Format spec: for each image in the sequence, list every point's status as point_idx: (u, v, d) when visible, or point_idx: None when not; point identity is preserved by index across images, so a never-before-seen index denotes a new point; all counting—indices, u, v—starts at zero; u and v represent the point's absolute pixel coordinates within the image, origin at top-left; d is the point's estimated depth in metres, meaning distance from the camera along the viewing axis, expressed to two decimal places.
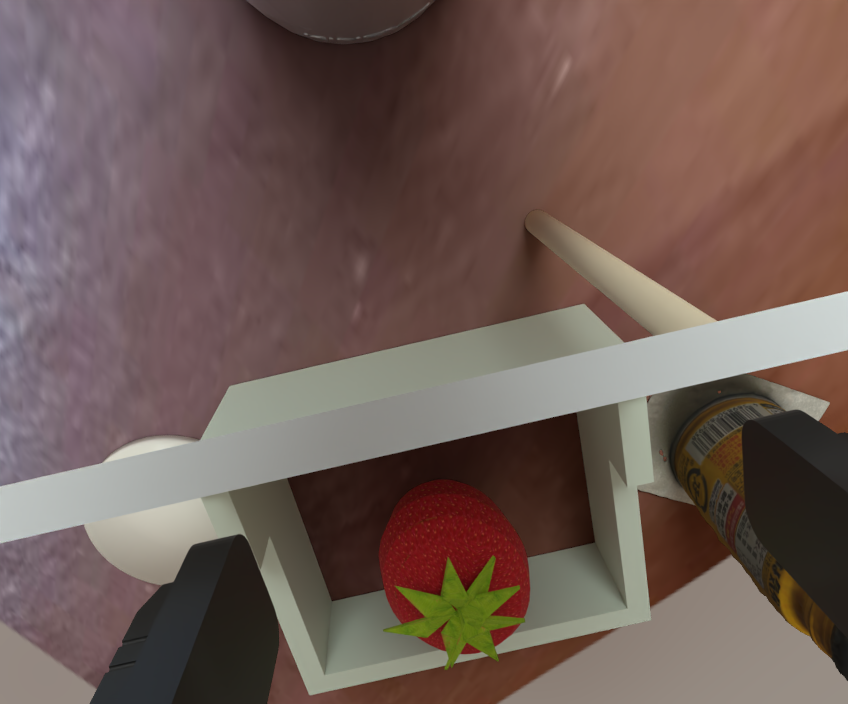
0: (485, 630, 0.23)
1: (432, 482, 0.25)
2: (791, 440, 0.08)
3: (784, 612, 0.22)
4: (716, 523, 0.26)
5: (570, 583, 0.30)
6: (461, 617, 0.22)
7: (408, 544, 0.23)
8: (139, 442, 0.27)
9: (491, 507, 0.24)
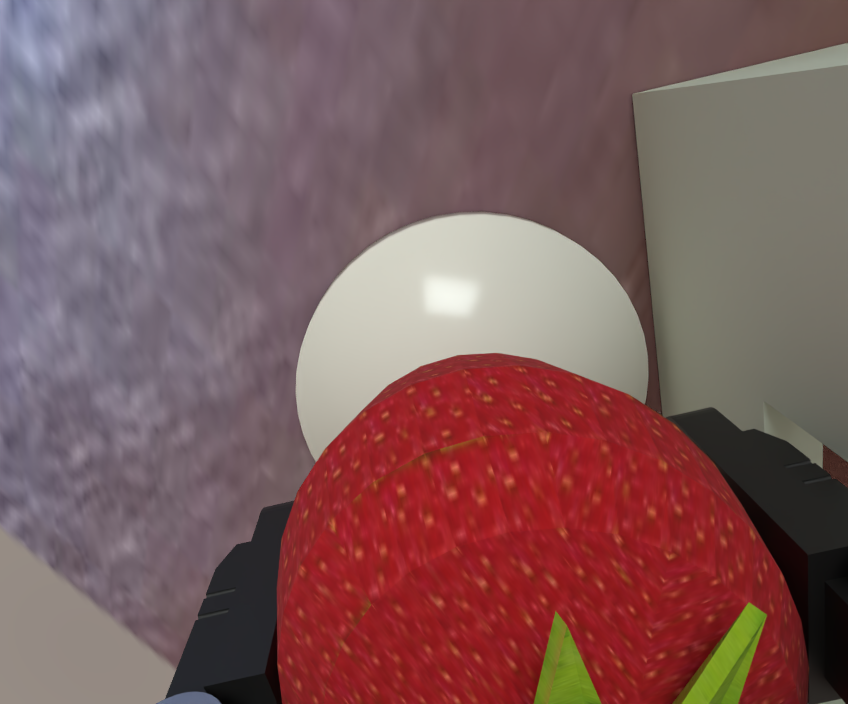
0: None
1: (458, 356, 0.08)
2: (698, 435, 0.09)
3: None
4: None
5: None
6: None
7: (367, 553, 0.05)
8: (430, 220, 0.13)
9: (671, 423, 0.07)
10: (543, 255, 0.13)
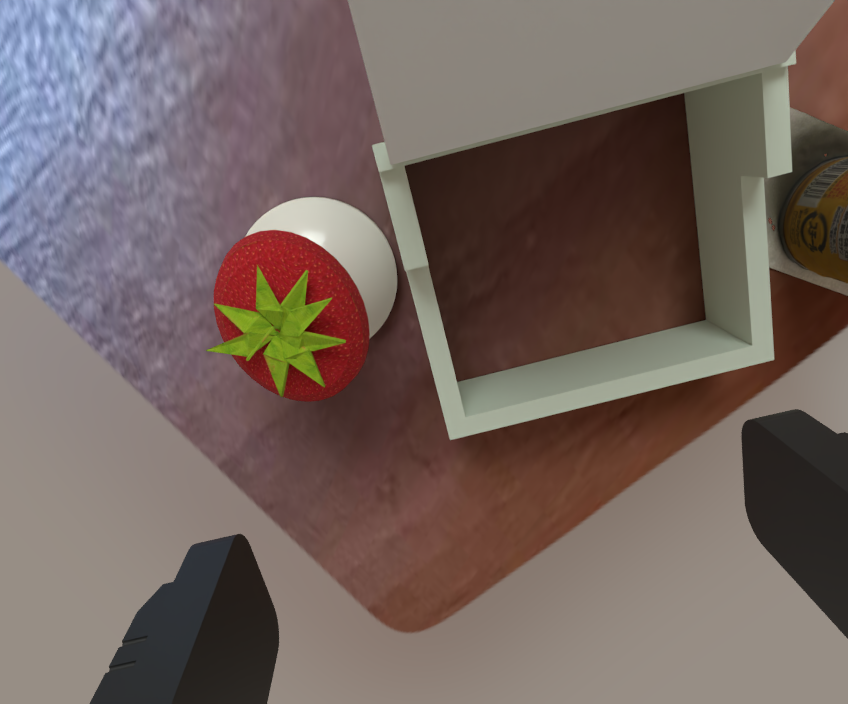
0: (305, 350, 0.23)
1: None
2: (791, 440, 0.08)
3: None
4: (838, 249, 0.28)
5: (690, 342, 0.31)
6: (274, 326, 0.23)
7: (229, 268, 0.24)
8: (291, 200, 0.30)
9: (320, 246, 0.25)
10: (340, 214, 0.30)
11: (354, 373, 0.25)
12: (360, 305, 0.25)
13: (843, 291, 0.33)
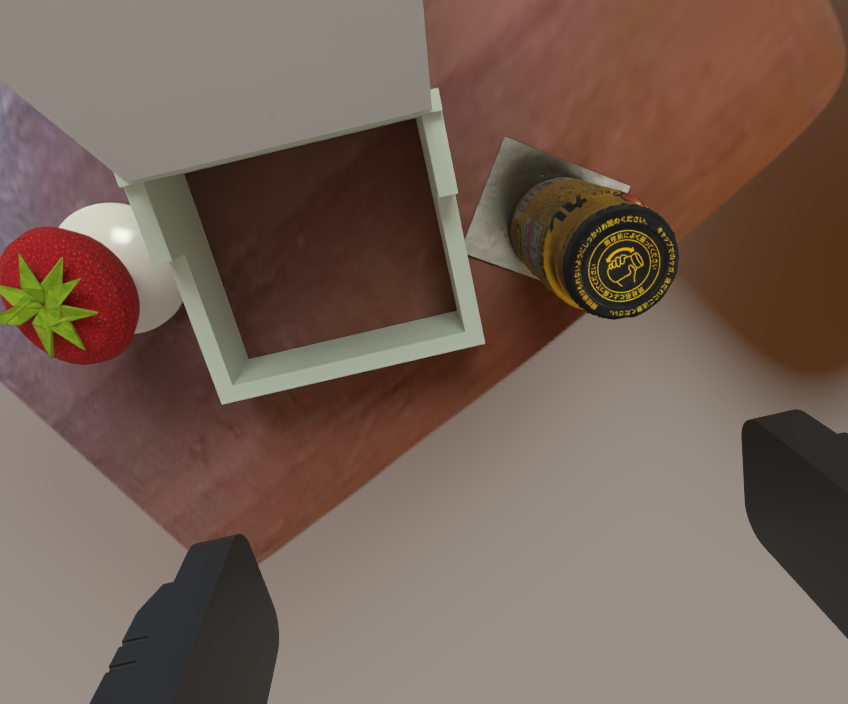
0: (65, 320, 0.30)
1: None
2: (791, 440, 0.08)
3: (550, 282, 0.30)
4: (525, 254, 0.34)
5: (429, 328, 0.38)
6: (33, 300, 0.29)
7: (6, 256, 0.30)
8: (92, 205, 0.36)
9: (87, 239, 0.31)
10: (133, 217, 0.36)
11: (119, 341, 0.32)
12: (121, 286, 0.32)
13: None
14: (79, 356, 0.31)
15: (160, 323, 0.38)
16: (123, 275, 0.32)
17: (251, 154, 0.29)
